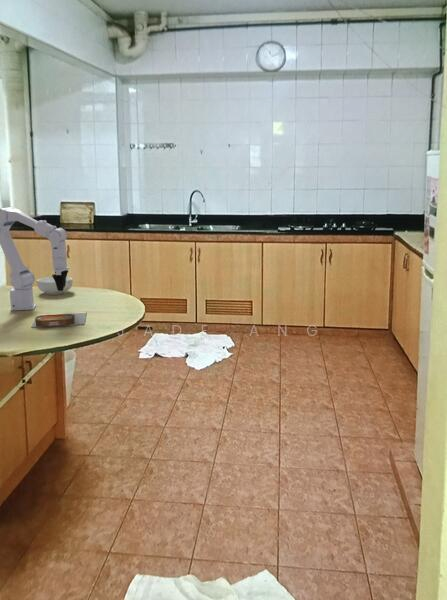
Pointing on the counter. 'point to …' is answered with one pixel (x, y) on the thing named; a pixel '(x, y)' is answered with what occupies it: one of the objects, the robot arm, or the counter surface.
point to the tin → (55, 320)
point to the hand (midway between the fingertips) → (61, 288)
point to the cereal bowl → (52, 285)
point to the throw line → (65, 313)
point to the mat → (79, 320)
